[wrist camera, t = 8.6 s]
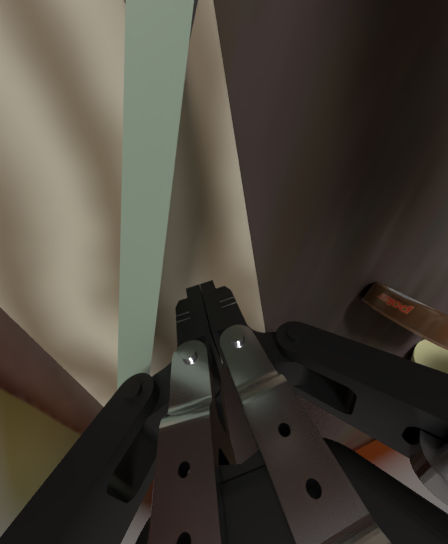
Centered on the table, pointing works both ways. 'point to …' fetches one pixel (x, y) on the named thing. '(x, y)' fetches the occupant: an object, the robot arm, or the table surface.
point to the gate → (148, 165)
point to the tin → (409, 313)
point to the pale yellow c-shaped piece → (431, 356)
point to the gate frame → (106, 185)
